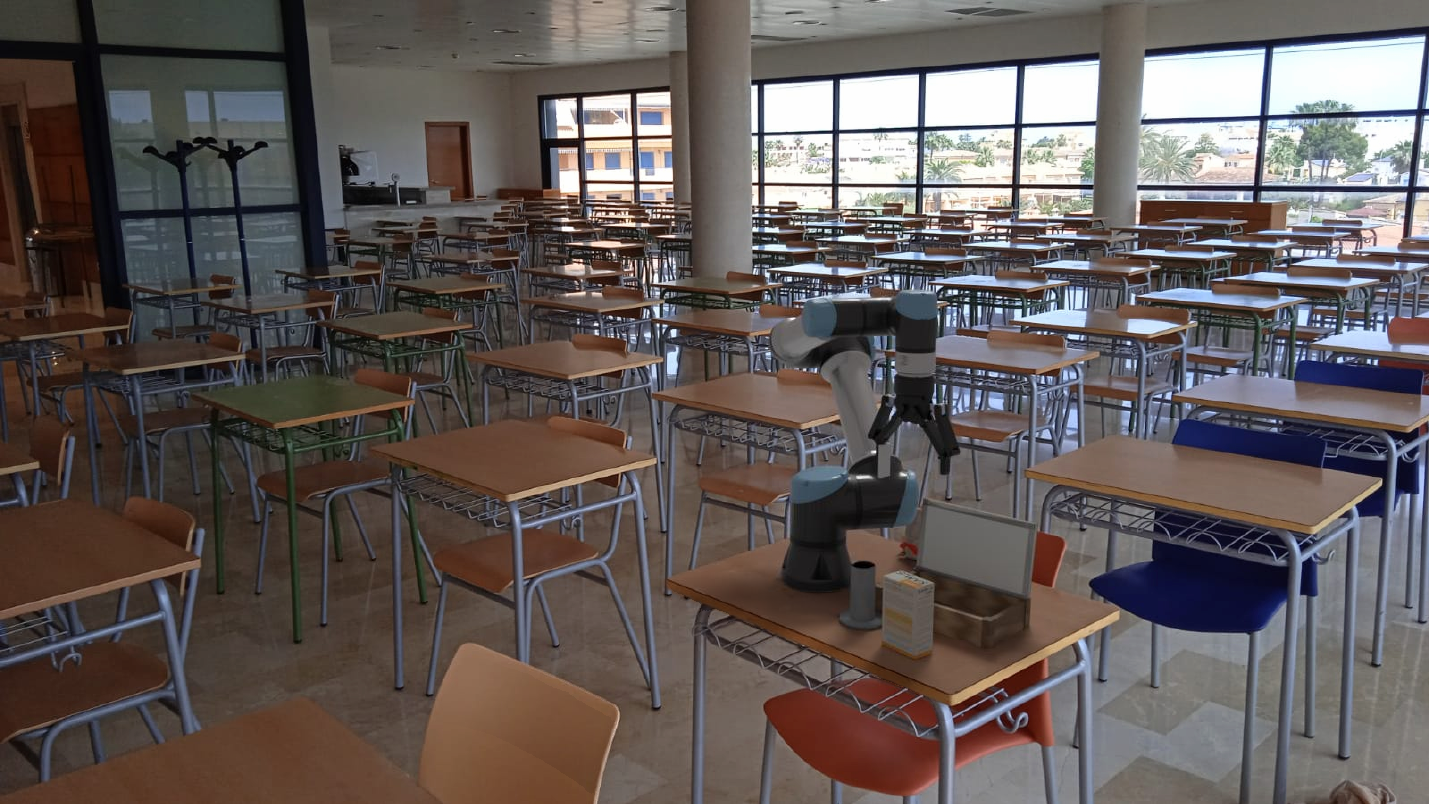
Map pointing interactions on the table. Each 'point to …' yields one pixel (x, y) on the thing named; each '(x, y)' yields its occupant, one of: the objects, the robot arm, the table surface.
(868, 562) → the grey cylindrical cup
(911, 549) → the figurine
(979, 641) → the cold frame
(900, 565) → the table surface
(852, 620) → the saucer
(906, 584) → the supplement box
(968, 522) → the lid
